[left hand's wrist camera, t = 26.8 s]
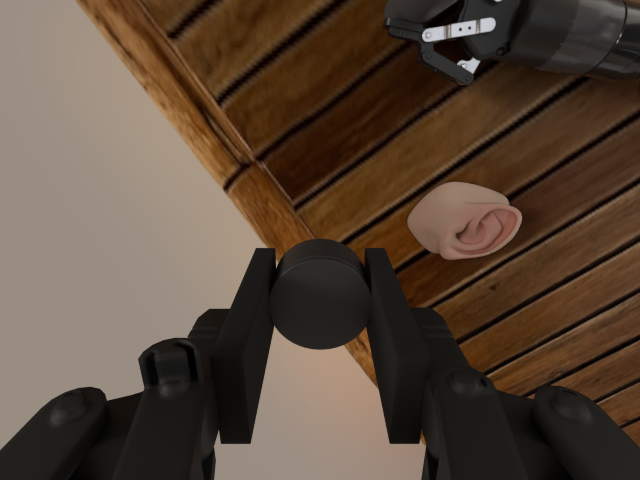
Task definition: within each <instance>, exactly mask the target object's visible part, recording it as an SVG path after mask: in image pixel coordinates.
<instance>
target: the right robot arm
mask: <svg viewBox="0 0 640 480" xmlns="http://www.w3.org/2000/svg"><path fill="white" fill-rule="evenodd" d="M383 28H384V29H388V32H387V34H388V35H389V36H390V37H392V38H397V39H402V40H406V41H411V42H414V43H416V44H417V46H418V57H417V61H418V63H419V64H421V65H423V66H425V67H426V68H428V69H430V70H432V71H434V72H435V73H437V74H439V75H441V76H443V77H444V78H446V79H448V80H450V81H451V82H453V83H455V84H457V85H467V84H470V83H472V82H473V80H474V75H473V73H474V72H475V70H476V68H477V66H478V65H479V63H480V61H484V60H487V59H493V60H498V61H502V62H507V63H512V64H516V65H521V66H526V67H530V68H535V69H536V70H539V71H549V72H554V73H565V74H576V75H581V76H586V77H591V78H595V79H600V80H604V81H609V82H616V83H622V82H628V81H631V80H634V79H636V78H638V77H640V3H638V2H633V1H629V0H458V4H457V12H456V14H455V15H454V17H453V20H452V23H451V24H449V25H446V26H440V27H434V28H423V24H419V23H414V22H410V21H405V20H400V19H396V18H391V17H387V18H386V19H385V20H384V24H383ZM453 40H457V41H458V42H459V44H460V45H461V47H462V48H463V49H464V51H465V52H466V54H467V55H468V56H469V58H470V59H469V60H468V61H464V60H461V61H457V62H456V63H454V62H452V61H450V60H449V59H447V58H445V57H443V56H442V55H440V54H438V53H436V52H435V51H434V49H433V43H441V42H447V41H453ZM639 95H640V84H639Z"/></svg>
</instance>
